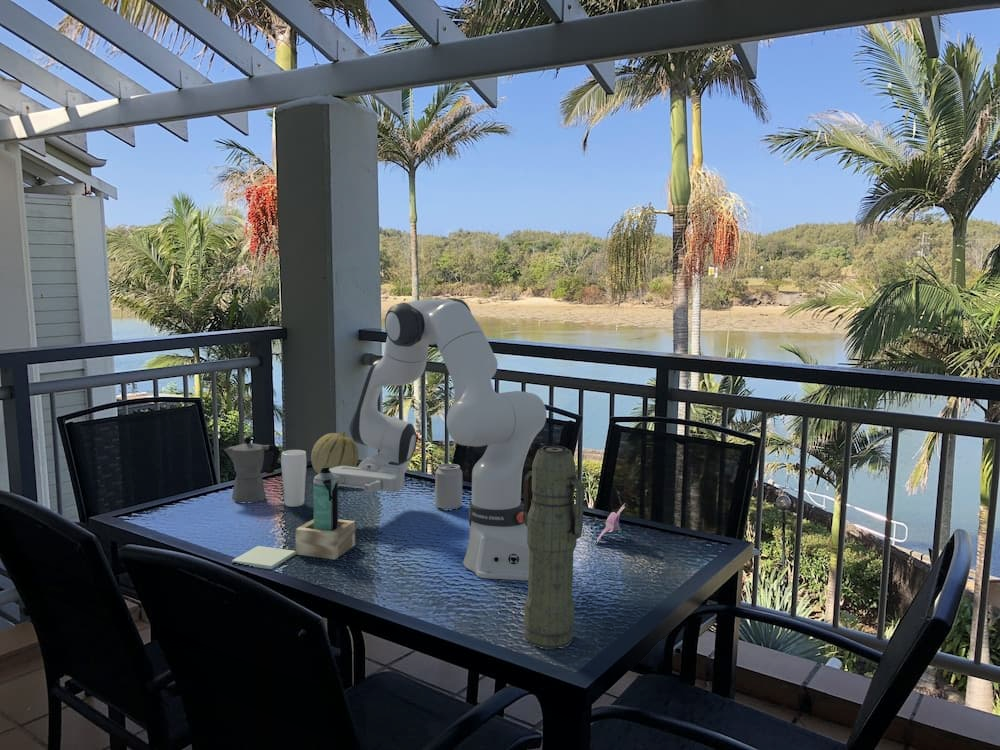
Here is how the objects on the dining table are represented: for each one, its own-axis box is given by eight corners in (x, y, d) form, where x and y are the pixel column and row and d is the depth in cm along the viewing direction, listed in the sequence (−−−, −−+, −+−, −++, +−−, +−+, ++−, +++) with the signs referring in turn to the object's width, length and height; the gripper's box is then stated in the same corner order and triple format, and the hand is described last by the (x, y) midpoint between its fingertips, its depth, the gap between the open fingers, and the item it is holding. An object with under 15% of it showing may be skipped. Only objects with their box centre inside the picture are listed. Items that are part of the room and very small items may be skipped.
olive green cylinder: (531, 621, 149) (536, 440, 145) (588, 637, 143) (595, 448, 139) (507, 639, 142) (512, 448, 138) (566, 656, 136) (573, 458, 131)
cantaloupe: (301, 478, 248) (301, 432, 246) (339, 470, 259) (338, 425, 257) (331, 487, 238) (330, 439, 237) (368, 478, 250) (368, 432, 248)
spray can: (342, 549, 186) (342, 466, 183) (322, 555, 182) (322, 470, 179) (328, 544, 189) (328, 462, 187) (309, 549, 185) (308, 466, 183)
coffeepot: (222, 504, 219) (220, 440, 217) (227, 495, 228) (226, 434, 226) (279, 502, 222) (278, 440, 220) (282, 493, 231) (281, 433, 229)
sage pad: (295, 554, 182) (295, 550, 182) (271, 569, 173) (271, 565, 172) (258, 549, 185) (258, 545, 185) (232, 563, 175) (231, 560, 175)
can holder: (355, 545, 189) (355, 521, 188) (334, 559, 179) (334, 534, 178) (317, 540, 192) (317, 516, 191) (295, 554, 182) (295, 529, 181)
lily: (614, 534, 204) (597, 503, 203) (652, 526, 197) (634, 494, 195) (594, 561, 195) (576, 528, 194) (633, 554, 188) (615, 520, 186)
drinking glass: (300, 509, 216) (299, 455, 214) (277, 507, 218) (276, 454, 216) (310, 502, 223) (310, 450, 221) (288, 500, 224) (288, 448, 222)
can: (467, 506, 222) (467, 465, 221) (451, 513, 216) (452, 470, 214) (445, 502, 226) (446, 461, 225) (429, 508, 220) (430, 466, 218)
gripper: (339, 457, 211) (312, 469, 198) (409, 465, 205) (387, 478, 192) (339, 480, 212) (312, 494, 199) (409, 488, 206) (386, 503, 193)
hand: (349, 486), depth 196 cm, fingers open, 8 cm apart
